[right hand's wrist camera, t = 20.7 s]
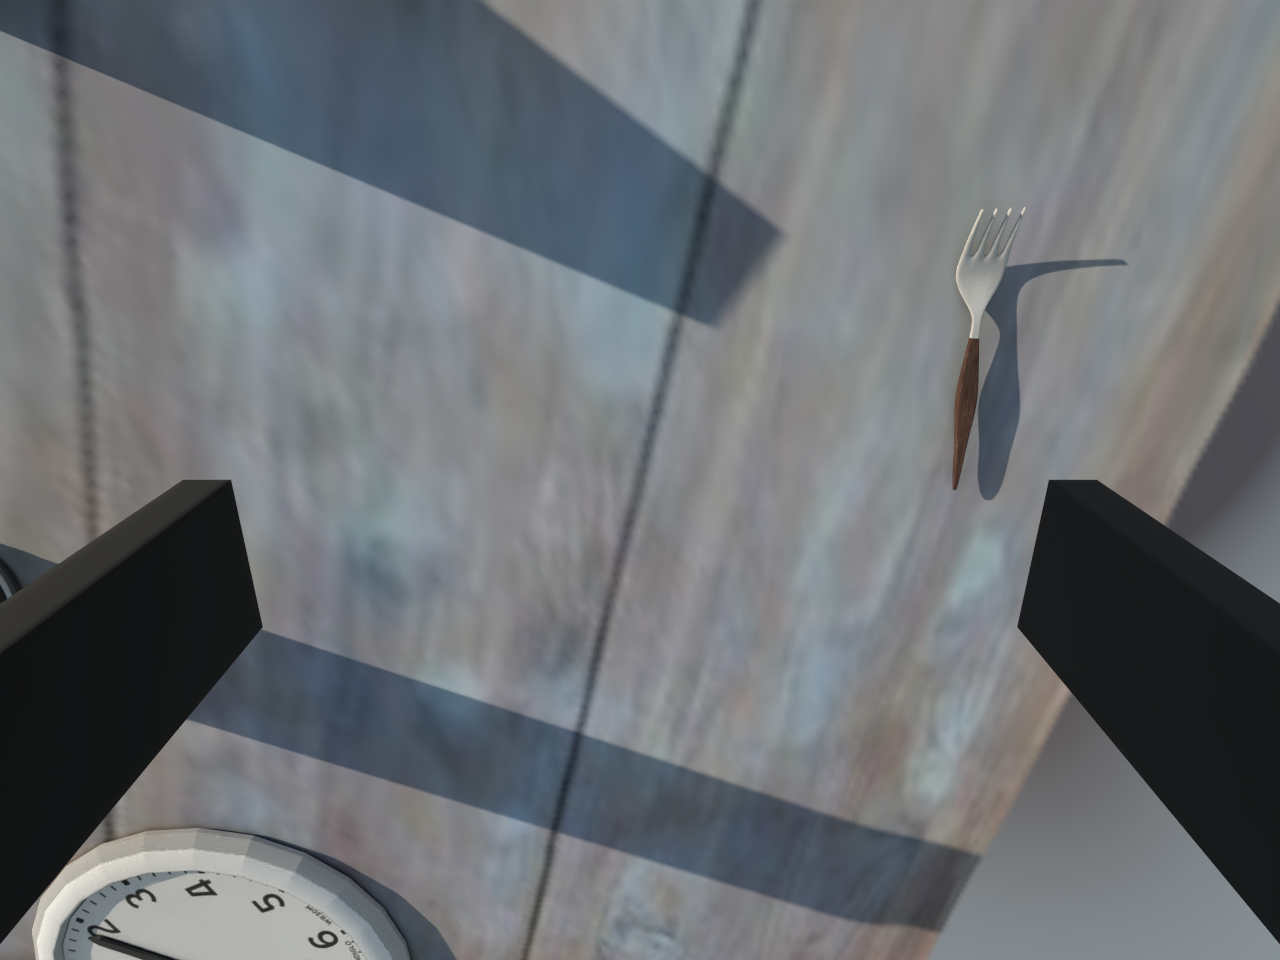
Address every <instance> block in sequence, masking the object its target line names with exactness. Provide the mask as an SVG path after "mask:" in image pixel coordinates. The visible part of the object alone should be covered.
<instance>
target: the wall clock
mask: <svg viewBox="0 0 1280 960" xmlns="http://www.w3.org/2000/svg"><path fill="white" fill-rule="evenodd" d="M32 934H33V941H34V948H35V954H36V960H411V959H410V956H409V952H408V948H407V944H406V941H405V940H404V938H403V937H402V935H401V934H400V932H399V931H398V929H397V928H396V926H395V925H394V923H393V922H392V920H391V919H390V917H389V915H388V914H387V912H386V911H385V909H384V908H383V907H382V906H381V905H379V904H378V903H377V902H376V901H375V900H374V899H373V898H372V897H371V896H369V895H368V894H367V893H366V892H365V891H364V890H363V889H362V888H360V887H359V886H358V885H357V884H356V883H355V882H354V881H353V880H352V879H350V878H349V877H347V876H346V875H344V874H342V873H340V872H338V871H337V870H335V869H333V868H331V867H330V866H328V865H326V864H324V863H323V862H321V861H319V860H317V859H315V858H314V857H312V856H310V855H308V854H307V853H305V852H302V851H299V850H296V849H293V848H290V847H287V846H284V845H281V844H278V843H275V842H272V841H269V840H266V839H263V838H260V837H257V836H254V835H246V834H239V833H232V832H225V831H218V830H211V829H203V828H190V829H172V830H155V831H145V832H142V833H138V834H135V835H131V836H128V837H124V838H121V839H118V840H114V841H111V842H107V843H104V844H101V845H99V846H98V847H96V848H95V849H93V850H91V851H90V852H88V853H87V854H85V855H83V856H82V857H80V858H78V859H77V860H75V861H74V862H72V863H70V864H69V865H67V866H66V867H65V868H64V870H63V871H62V872H61V873H60V875H59V876H58V877H57V879H56V880H55V881H54V882H53V884H52V885H51V886H50V887H49V889H48V890H47V891H46V892H45V894H44V895H43V896H42V897H41V899H40V903H39V907H38V910H37V914H36V918H35V922H34V926H33V929H32Z"/></svg>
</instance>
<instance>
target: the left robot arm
mask: <svg viewBox="0 0 1280 960" xmlns="http://www.w3.org/2000/svg"><path fill="white" fill-rule="evenodd" d="M18 591H20V590H19V588H18V585H17V583H16V581H15V580H14V578H13V576H12V575H11V573H10V572H9V571H8V569H7V568H6V567H5V566H4V564H3V563H2V562H1V561H0V603H2V602H3V601H5V600H6V599H8V598H9V597H11V596H12V595H14V594H15V593H17V592H18Z"/></svg>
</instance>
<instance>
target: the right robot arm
mask: <svg viewBox="0 0 1280 960" xmlns="http://www.w3.org/2000/svg"><path fill="white" fill-rule="evenodd" d="M262 627H263V626H262V622H261V617H260V612H259V608H258V603H257V599H256V594H255V589H254V585H253V580H252V575H251V571H250V566H249V561H248V557H247V552H246V548H245V543H244V538H243V534H242V529H241V524H240V520H239V515H238V510H237V506H236V501H235V497H234V492H233V487H232V483H231V480H182V481H181V482H179V483H178V484H176V485H175V486H173V487H172V488H171V489H169V490H168V491H166V492H165V493H163V494H162V495H160V496H159V497H157V498H156V499H154V500H153V501H151V502H150V503H148V504H147V505H145V506H144V507H142V508H141V509H139V510H138V511H137V512H135V513H134V514H132V515H131V516H129V517H128V518H126V519H125V520H123V521H122V522H120V523H119V524H117V525H116V526H114V527H113V528H111V529H110V530H108V531H107V532H105V533H104V534H102V535H101V536H100V537H98V538H97V539H95V540H94V541H92V542H91V543H89V544H88V545H86V546H85V547H83V548H82V549H80V550H79V551H77V552H76V553H74V554H73V555H71V556H70V557H68V558H67V559H66V560H64V561H63V562H61V563H60V564H58V565H57V566H55V567H54V568H52V569H51V570H49V571H48V572H46V573H45V574H43V575H42V576H40V577H39V578H37V579H36V580H34V581H33V582H32V583H30V584H29V585H27V586H26V587H24V588H23V589H21V590H20V591H18V592H17V593H15V594H14V595H12V596H11V597H9V598H8V599H6V600H5V601H3V602H2V603H0V944H1V942H2V941H3V940H4V939H5V938H6V936H7V935H8V934H9V933H10V932H11V930H12V929H13V928H14V927H15V926H16V924H17V923H18V922H19V921H20V919H21V918H22V917H23V916H24V915H25V913H26V912H27V911H28V910H29V909H30V907H31V906H32V905H33V904H34V903H35V901H36V900H37V899H38V898H39V897H40V895H41V894H42V893H43V892H44V890H45V889H46V888H47V887H48V886H49V884H50V883H51V882H52V881H53V880H54V878H55V877H56V876H57V875H58V874H59V872H60V871H61V870H62V869H63V868H64V866H65V865H66V864H67V863H68V861H69V860H70V859H71V858H72V857H73V855H74V854H75V853H76V852H77V851H78V849H79V848H80V847H81V846H82V845H83V843H84V842H85V841H86V840H87V839H88V837H89V836H90V835H91V834H92V832H93V831H94V830H95V829H96V828H97V826H98V825H99V824H100V823H101V822H102V820H103V819H104V818H105V817H106V816H107V814H108V813H109V812H110V811H111V810H112V808H113V807H114V806H115V805H116V803H117V802H118V801H119V800H120V799H121V797H122V796H123V795H124V794H125V793H126V791H127V790H128V789H129V788H130V787H131V785H132V784H133V783H134V782H135V781H136V779H137V778H138V777H139V776H140V775H141V773H142V772H143V771H144V770H145V768H146V767H147V766H148V765H149V764H150V762H151V761H152V760H153V759H154V758H155V756H156V755H157V754H158V753H159V752H160V750H161V749H162V748H163V747H164V746H165V744H166V743H167V742H168V741H169V739H170V738H171V737H172V736H173V735H174V733H175V732H176V731H177V730H178V729H179V727H180V726H181V725H182V724H183V723H184V721H185V720H186V719H187V718H188V717H189V715H190V714H191V713H192V712H193V710H194V709H195V708H196V707H197V706H198V704H199V703H200V702H201V701H202V700H203V698H204V697H205V696H206V695H207V694H208V692H209V691H210V690H211V689H212V688H213V686H214V685H215V684H216V683H217V681H218V680H219V679H220V678H221V677H222V675H223V674H224V673H225V672H226V671H227V669H228V668H229V667H230V666H231V665H232V663H233V662H234V661H235V660H236V659H237V657H238V656H239V655H240V654H241V652H242V651H243V650H244V649H245V648H246V646H247V645H248V644H249V643H250V642H251V640H252V639H253V638H254V637H255V636H256V634H257V633H258V632H259V631H260V630H261V628H262ZM1017 627H1018V628H1019V630H1020V631H1021V632H1022V633H1023V634H1024V636H1025V637H1026V638H1027V639H1028V640H1029V642H1030V643H1031V644H1032V645H1033V646H1034V648H1035V649H1036V650H1037V651H1038V652H1039V654H1040V655H1041V656H1042V657H1043V659H1044V660H1045V661H1046V662H1047V663H1048V665H1049V666H1050V667H1051V668H1052V669H1053V671H1054V672H1055V673H1056V674H1057V675H1058V677H1059V678H1060V679H1061V680H1062V681H1063V683H1064V684H1065V685H1066V686H1067V688H1068V689H1069V690H1070V691H1071V692H1072V694H1073V695H1074V696H1075V697H1076V698H1077V700H1078V701H1079V702H1080V703H1081V704H1082V706H1083V707H1084V708H1085V709H1086V710H1087V712H1088V713H1089V714H1090V715H1091V717H1092V718H1093V719H1094V720H1095V721H1096V723H1097V724H1098V725H1099V726H1100V727H1101V729H1102V730H1103V731H1104V732H1105V733H1106V735H1107V736H1108V737H1109V738H1110V739H1111V741H1112V742H1113V743H1114V744H1115V745H1116V747H1117V748H1118V749H1119V750H1120V752H1121V753H1122V754H1123V755H1124V756H1125V758H1126V759H1127V760H1128V761H1129V762H1130V764H1131V765H1132V766H1133V767H1134V768H1135V770H1136V771H1137V772H1138V773H1139V775H1140V776H1141V777H1142V778H1143V779H1144V781H1145V782H1146V783H1147V784H1148V785H1149V786H1150V788H1151V789H1152V790H1153V791H1154V793H1155V794H1156V795H1157V796H1158V797H1159V799H1160V800H1161V801H1162V802H1163V803H1164V805H1165V806H1166V807H1167V808H1168V810H1169V811H1170V812H1171V813H1172V814H1173V815H1174V817H1175V818H1176V819H1177V820H1178V822H1179V823H1180V824H1181V825H1182V826H1183V828H1184V829H1185V830H1186V831H1187V832H1188V834H1189V835H1190V836H1191V837H1192V839H1193V840H1194V841H1195V842H1196V843H1197V845H1198V846H1199V847H1200V848H1201V849H1202V851H1203V852H1204V853H1205V854H1206V855H1207V857H1208V858H1209V859H1210V860H1211V861H1212V863H1213V864H1214V865H1215V866H1216V867H1217V869H1218V870H1219V871H1220V872H1221V874H1222V875H1223V876H1224V877H1225V878H1226V880H1227V881H1228V882H1229V883H1230V884H1231V886H1232V887H1233V888H1234V889H1235V890H1236V892H1237V893H1238V894H1239V895H1240V897H1241V898H1242V899H1243V900H1244V901H1245V903H1246V904H1247V905H1248V906H1249V907H1250V909H1251V910H1252V911H1253V912H1254V913H1255V915H1256V916H1257V917H1258V918H1259V919H1260V921H1261V922H1262V923H1263V924H1264V926H1265V927H1266V928H1267V929H1268V930H1269V932H1270V933H1271V934H1272V935H1273V936H1274V938H1275V939H1276V940H1277V941H1278V942H1279V944H1280V603H1278V602H1277V601H1275V600H1274V599H1272V598H1271V597H1269V596H1268V595H1266V594H1265V593H1263V592H1262V591H1260V590H1259V589H1257V588H1256V587H1254V586H1253V585H1251V584H1250V583H1248V582H1247V581H1246V580H1244V579H1243V578H1241V577H1240V576H1238V575H1237V574H1235V573H1234V572H1232V571H1231V570H1229V569H1228V568H1226V567H1225V566H1223V565H1222V564H1220V563H1219V562H1217V561H1216V560H1214V559H1213V558H1212V557H1210V556H1209V555H1207V554H1206V553H1204V552H1203V551H1201V550H1200V549H1198V548H1197V547H1195V546H1194V545H1192V544H1191V543H1189V542H1188V541H1186V540H1185V539H1183V538H1182V537H1180V536H1179V535H1177V534H1176V533H1175V532H1173V531H1172V530H1170V529H1169V528H1167V527H1166V526H1164V525H1163V524H1161V523H1160V522H1158V521H1157V520H1155V519H1154V518H1152V517H1151V516H1149V515H1148V514H1146V513H1145V512H1143V511H1142V510H1141V509H1139V508H1138V507H1136V506H1135V505H1133V504H1132V503H1130V502H1129V501H1127V500H1126V499H1124V498H1123V497H1121V496H1120V495H1118V494H1117V493H1115V492H1114V491H1112V490H1111V489H1109V488H1108V487H1107V486H1105V485H1104V484H1102V483H1101V482H1099V481H1098V480H1049V483H1048V487H1047V492H1046V496H1045V501H1044V506H1043V510H1042V515H1041V520H1040V524H1039V529H1038V534H1037V538H1036V543H1035V548H1034V552H1033V557H1032V561H1031V566H1030V571H1029V575H1028V580H1027V585H1026V589H1025V594H1024V599H1023V603H1022V608H1021V612H1020V617H1019V622H1018V626H1017Z"/></svg>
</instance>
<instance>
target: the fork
mask: <svg viewBox="0 0 1280 960" xmlns="http://www.w3.org/2000/svg"><path fill="white" fill-rule="evenodd" d="M1011 210H1012V209H1011V208H1010V209H1009V211H1008V213H1007V215H1006V217H1005V219H1004V221H1003V223H1002V225H1001V227H1000V229H999V231H998V233H997V235H996V238H995V240H994V242H993V244H992V247H991V249H990V251H989V252H988V254H986V255H984V248H985V245H986V242H987V239H988V236H989V233H990V230H991V227H992V224H993V221H994V218H995V216H996V213H997V208H996V209H995V211H994V213H993V215H992V217H991V219H990V222H989V224H988V226H987V228H986V230H985V232H984V235H983V237H982V239H981V241H980V244H979V246H978V248H977V250H976V252H975V254H974V255H970V251H971V247H972V244H973V241H974V237H975V234H976V231H977V228H978V225H979V222H980V219H981V216H982V214H983V212H984V209H981V211H980V214H979V216H978V218H977V220H976V222H975V225H974V227H973V229H972V231H971V233H970V236H969V238H968V240H967V243H966V245H965V248H964V251H963V253H962V256H961V258H960V261H959V263H958V267H957V271H956V281H957V286H958V289H959V291H960V293H961V295H962V297H963V299H964V301H965V302H966V304H967V306H968V308H969V310H970V313H971V316H972V327H971V332H970V337H969V341H968V345H967V349H966V353H965V357H964V361H963V365H962V369H961V373H960V377H959V381H958V386H957V391H956V399H955V428H954V460H953V490H956V488H957V485H958V482H959V478H960V474H961V469H962V465H963V460H964V456H965V451H966V447H967V442H968V438H969V434H970V430H971V426H972V422H973V418H974V413H975V409H976V403H977V395H978V372H979V329H980V321H981V317H982V315H983V312H984V310H985V308H986V306H987V305H988V303H989V301H990V300H991V298H992V296H993V295H994V293H995V291H996V290H997V288H998V286H999V284H1000V282H1001V280H1002V277H1003V275H1004V272H1005V269H1006V265H1007V261H1008V257H1009V253H1010V250H1011V247H1012V244H1013V241H1014V239H1015V236H1016V233H1017V230H1018V228H1019V225H1020V223H1021V220H1022V217H1023V215H1024V213H1025V211H1026V208H1025V207H1024V208H1023V210H1022V212H1021V214H1020V216H1019V218H1018V220H1017V222H1016V224H1015V226H1014V228H1013V230H1012V232H1011V234H1010V236H1009V238H1008V241H1007V243H1006V245H1005V247H1004V249H1003V251H1002V252H1001V254H999V255H998V254H997V250H998V246H999V243H1000V240H1001V237H1002V234H1003V232H1004V229H1005V226H1006V223H1007V221H1008V218H1009V215H1010V213H1011Z"/></svg>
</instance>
